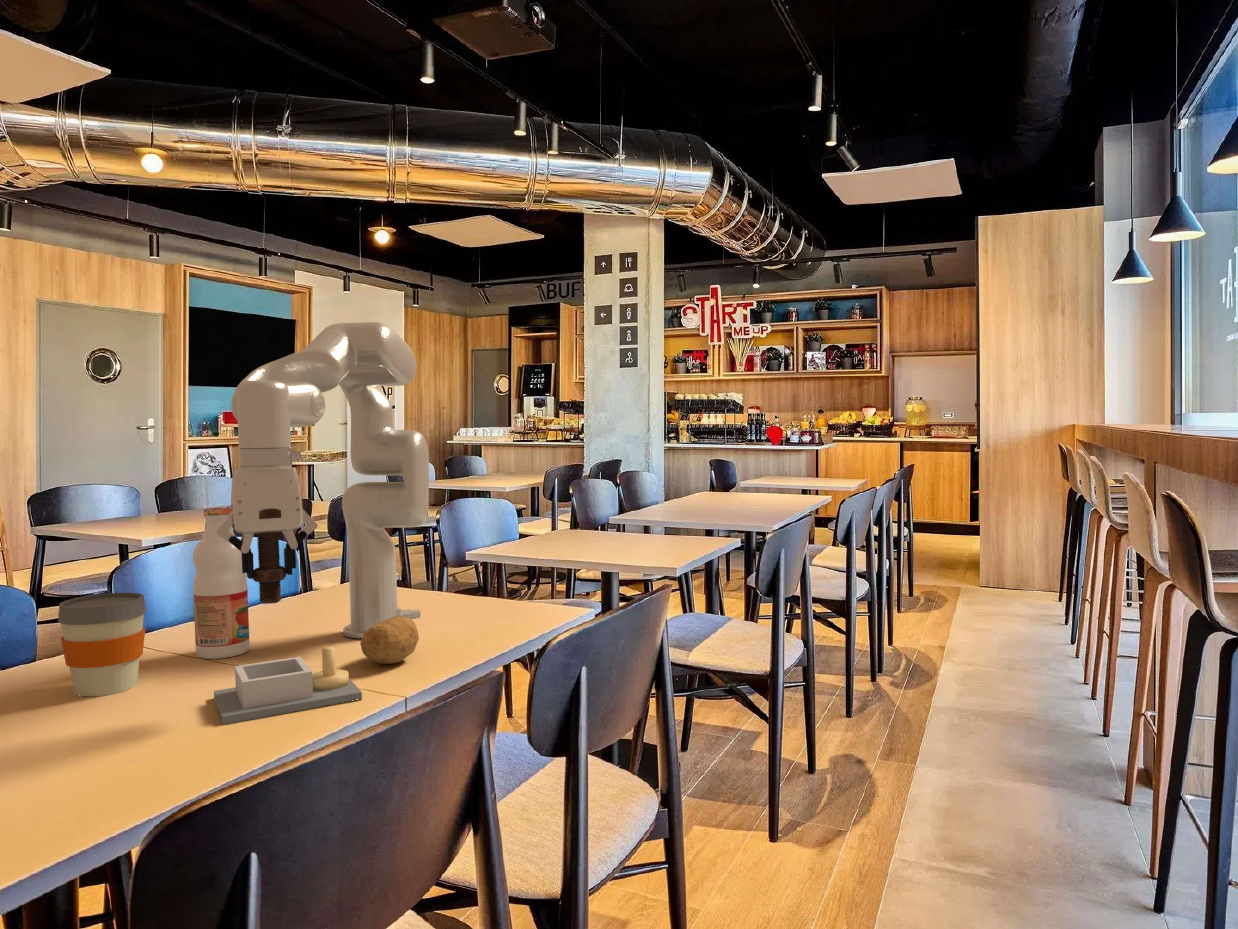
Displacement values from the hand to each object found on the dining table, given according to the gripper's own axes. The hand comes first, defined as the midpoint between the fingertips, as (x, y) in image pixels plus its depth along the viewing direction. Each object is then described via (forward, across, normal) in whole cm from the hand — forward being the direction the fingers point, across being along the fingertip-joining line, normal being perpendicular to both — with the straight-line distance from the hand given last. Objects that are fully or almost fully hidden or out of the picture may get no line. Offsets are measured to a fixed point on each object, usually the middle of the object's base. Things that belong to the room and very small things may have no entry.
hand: (269, 574), depth 131 cm
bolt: (+5, 0, 0) cm, 5 cm away
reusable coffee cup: (+21, +23, -23) cm, 39 cm away
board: (+20, -2, 0) cm, 20 cm away
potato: (+21, -22, -12) cm, 32 cm away
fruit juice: (+20, +4, -36) cm, 42 cm away
